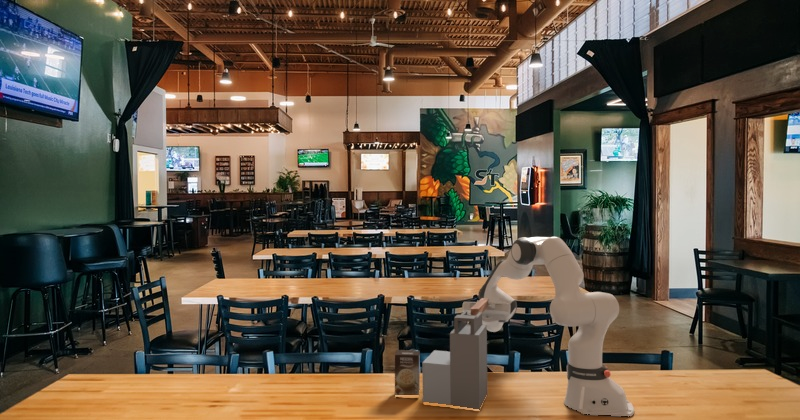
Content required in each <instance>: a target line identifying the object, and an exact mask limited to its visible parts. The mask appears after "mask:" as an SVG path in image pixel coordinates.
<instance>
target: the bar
mask: <svg viewBox="0 0 800 420" xmlns="http://www.w3.org/2000/svg"><path fill="white" fill-rule="evenodd" d="M488 301H489V298H482V299H480V300H479V301H478V302H477V301H476V302H477V303H476V304H475V305H474V306H473V307H472V308H471V315H472V316H476V315H477V314H478V313H479V312H482V313H483V312H484V311H485V310H486V308H487V307H488V305H487V303H488Z"/></svg>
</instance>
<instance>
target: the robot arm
mask: <svg viewBox="0 0 800 420" xmlns="http://www.w3.org/2000/svg"><path fill="white" fill-rule="evenodd" d="M534 265H536V266H537V265H538V266H540V265H544V266H545V268H546V270H547V273H548V275H549V277H550V280H551V281H552V283H553V287H554V291H555V293H554V298H553V299H552V300H551V303H550V304H549V314H550V317H551V319H552V320H553V322H554V323H555V324H557V325H559V326H563V327H578V329H577V330H576V332H575V334H573V335H572V336H571V337H570V339H569V340H568V347H567V348H568V353H567V354H568V356H567V357H568V362H567V364H566V377H567V387H566V393H565V396H564V399H563V404H564V405H565V406H566V407H567V406H568V407H567V408H569V409H571V408H572V409H571V410H574V411H576V410H577V411H576V412H578V413H580V412H581V414H582V413H583V414H582V415H584V414H587V415H586V416H598V415H611V416H610V417H621V416H628V418H629V416H630V417H632V416H633V415H634V413H635V408H634V405H633V404H632V402H630V400H627V396H626V395H627V394H626V392H625V390H624V388H623V387H622V386H621V385H620V384H618V383H617V382H615V380H613V379H612V378H611V371H610V370H609V367H608V366H607V365H604V364H603V346H604V340H605V337H606V333H607V331H608V329H609V327H610V325H611V324H612V323H613V322H614V321H615V320H616V319H617V318H618V316H619V313H620V304H619V300H618V299H617V298H616V297H615V296H614V295H613V294H611V293H608V292H602V291H593V292H592V291H590V292H589V291H588V292H583V291H581V288H580V285H581V284H582V283H583V280H584V277H585V276H584V271H583V270H582V267H581V266H580V265H579V262H578V261H577V259H576V257H575V255H574V253H573V252H572V250H571V248H570V247H568V245H567V243H566V242H565V241H564V240H563V239H562V238H560V237H559V236H531V237H526V236H524V237H519V238H517V239H516V240H514V241H513V243H512V245H511V249H510V250H509V252H508V256H507V257H506V259H501V260H499V261H498V263H496V265H495V266H494V268H493V269H492V271H491V273H490V274H489V276H488V278H486V281H485V282H484V284H483V285H482V286H481V288H480V289H479V290H478V299H479V300H480V299H482V298H489V301H488V303H487V305H488V307H487V308H486V310H485V311H484V312H483V313H482V325H487V331H488V332H491V333H492V332H493V333H496V332H498V331H500V330H501V329H502V328H503V325H504V323H508V322H509V321H510V320H511V319H513V317H514V316H515V314H516V313H517V310H518V309H517V308H518V304H517V300H516V299H515V298H513V297H512V296H511V295H509V294H507V292H505V291H504V290H502V289H501V288H500V287H499V286H498V282H499V281H500V279H501V277H504V278H508V279H510V280H518V281H519V280H523V279H526V278H527V277H528V276H529V275H530V274H531V272H532V269H533V267H534ZM479 300H476V301H463V303H462V305H461V306H462V309H461V310H462V312H464V311H467V315H471V308H472V307H473V306H474V305H475V304H476V303H477V302H478V301H479ZM588 414H590V415H588Z"/></svg>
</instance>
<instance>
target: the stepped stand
mask: <svg viewBox="0 0 800 420" xmlns="http://www.w3.org/2000/svg"><path fill="white" fill-rule="evenodd" d="M453 321H454V322H453V324H454V326H453V327H454V328H453V329H452V330H451V331H450V333H449V351H447V350H437V349H435V350H433V351H432V352H431V353H430V354H429V355H428V356H427V357H426V358H425V359H424V360H423V361H422V368H421V371H422V375H421V376H422V403H423V402H429V403H438V404H446V405H453V406H460V407H467V408H473V409H479V410H480V407H481V405H482V403H483V401H484V399H485V397H486V395H487V396H488V343H487V342H488V340H487V339H488V334H487V333H488V332H487V331H488V330H487V325H483V323H482V312H479V313H478V314H477V315H476V316H472V315H468V314H467V311H462V312H461V313H460V314H456V315H455V316H454V319H453ZM468 322H469V323H468ZM486 398H487V397H486ZM485 400H486V399H485ZM484 402H485V401H484ZM480 411H481V410H480Z"/></svg>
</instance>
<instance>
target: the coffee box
mask: <svg viewBox="0 0 800 420" xmlns="http://www.w3.org/2000/svg"><path fill="white" fill-rule="evenodd" d="M420 353H421V352H420V350H407V349H406V350H405V349H396V350H395V351H394V396H395V395H419V396H420V394H419V390H420V389H421V388H420V387H421V386H420V384H421V383H420V382H421V381H420V378H421V377H420V370H421V367H420V365H421V364H420V363H421V360H420V359H421V357H420Z"/></svg>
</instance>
